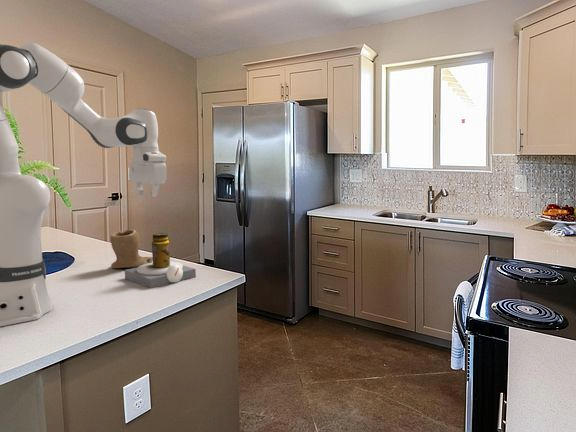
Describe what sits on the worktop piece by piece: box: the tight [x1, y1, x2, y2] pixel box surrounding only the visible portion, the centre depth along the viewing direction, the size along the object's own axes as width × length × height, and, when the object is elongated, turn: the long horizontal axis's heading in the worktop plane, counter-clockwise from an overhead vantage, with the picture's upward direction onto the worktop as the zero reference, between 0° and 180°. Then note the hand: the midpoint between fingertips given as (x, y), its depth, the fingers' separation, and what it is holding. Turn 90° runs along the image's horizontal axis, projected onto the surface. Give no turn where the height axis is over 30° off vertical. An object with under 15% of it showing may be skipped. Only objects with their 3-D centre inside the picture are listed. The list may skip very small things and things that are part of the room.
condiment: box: [145, 232, 172, 270], centre depth 158 cm, size 7×8×12 cm
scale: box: [124, 261, 197, 289], centre depth 158 cm, size 18×19×6 cm
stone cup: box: [109, 229, 153, 269], centre depth 173 cm, size 15×12×15 cm
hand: (147, 195), depth 156 cm, fingers open, 8 cm apart
